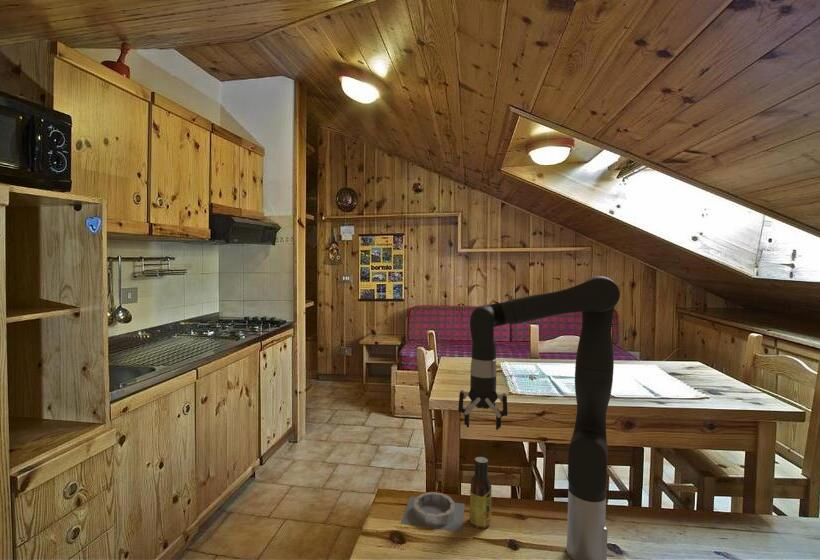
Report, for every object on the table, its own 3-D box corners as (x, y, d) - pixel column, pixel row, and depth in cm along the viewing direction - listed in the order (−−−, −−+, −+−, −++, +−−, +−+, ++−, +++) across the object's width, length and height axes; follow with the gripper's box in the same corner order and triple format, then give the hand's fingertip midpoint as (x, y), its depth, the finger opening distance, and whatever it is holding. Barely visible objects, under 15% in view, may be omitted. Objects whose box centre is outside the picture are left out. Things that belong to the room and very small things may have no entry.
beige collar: (456, 504, 125) (456, 494, 125) (452, 529, 113) (452, 519, 113) (417, 499, 128) (418, 489, 128) (410, 523, 116) (410, 513, 116)
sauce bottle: (490, 534, 113) (492, 466, 112) (468, 531, 114) (470, 464, 114) (490, 520, 119) (492, 456, 119) (469, 517, 121) (471, 454, 120)
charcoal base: (464, 507, 126) (464, 503, 126) (461, 536, 112) (461, 532, 112) (409, 500, 129) (410, 496, 129) (400, 527, 115) (400, 523, 115)
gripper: (507, 371, 118) (506, 425, 118) (460, 368, 121) (459, 420, 121) (508, 378, 110) (507, 435, 111) (458, 375, 113) (457, 430, 114)
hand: (482, 427), depth 116 cm, fingers open, 8 cm apart
